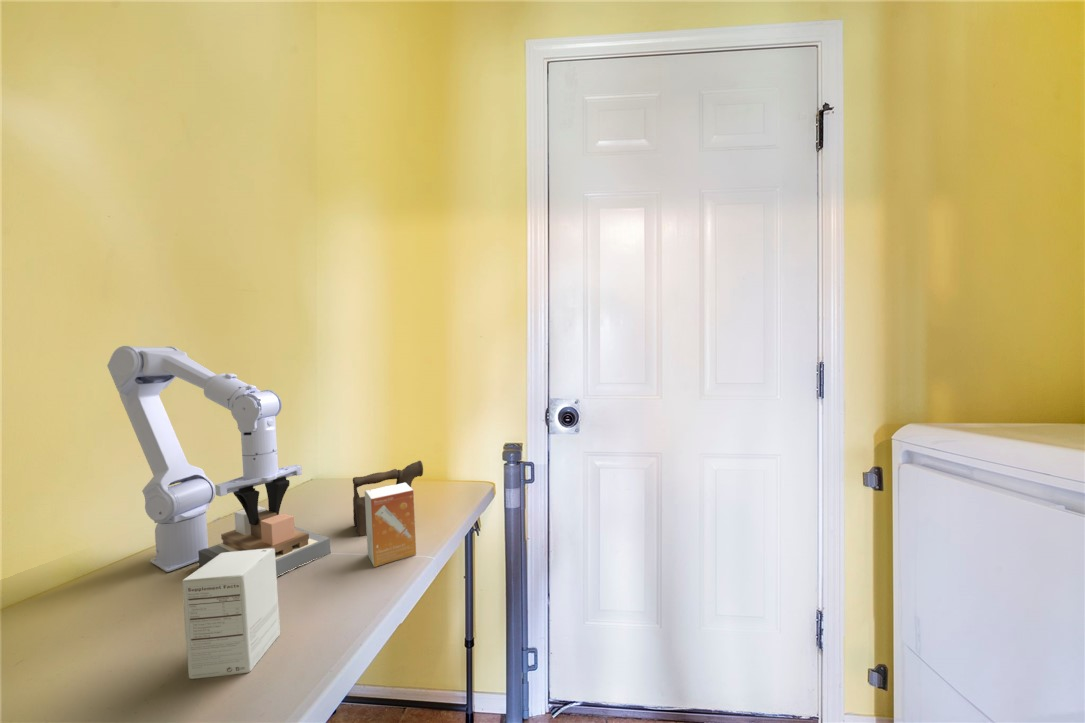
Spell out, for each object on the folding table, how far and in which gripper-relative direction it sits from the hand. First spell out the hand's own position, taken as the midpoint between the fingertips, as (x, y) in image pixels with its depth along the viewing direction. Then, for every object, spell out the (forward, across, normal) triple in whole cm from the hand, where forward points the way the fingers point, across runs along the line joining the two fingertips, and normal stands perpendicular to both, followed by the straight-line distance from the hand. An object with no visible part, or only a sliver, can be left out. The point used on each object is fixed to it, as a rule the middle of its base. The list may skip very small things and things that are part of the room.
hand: (264, 520), depth 80 cm
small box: (+8, +12, -22) cm, 27 cm away
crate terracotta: (+3, 0, -5) cm, 6 cm away
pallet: (+5, 0, 0) cm, 5 cm away
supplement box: (+8, -16, -26) cm, 31 cm away
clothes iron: (+8, +22, -8) cm, 25 cm away
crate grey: (+3, 0, +5) cm, 6 cm away
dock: (+8, 0, 0) cm, 8 cm away
